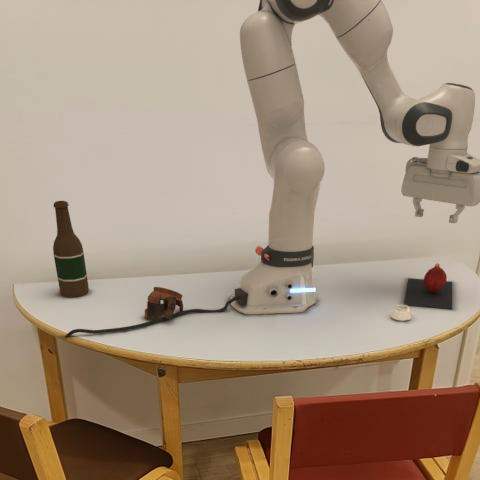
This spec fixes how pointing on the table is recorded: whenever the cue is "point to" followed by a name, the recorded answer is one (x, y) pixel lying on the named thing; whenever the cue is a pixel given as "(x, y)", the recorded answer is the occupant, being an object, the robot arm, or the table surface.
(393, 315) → the white jar
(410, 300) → the placemat
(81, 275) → the beer bottle
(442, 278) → the red round fruit
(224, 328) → the table surface
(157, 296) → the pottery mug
